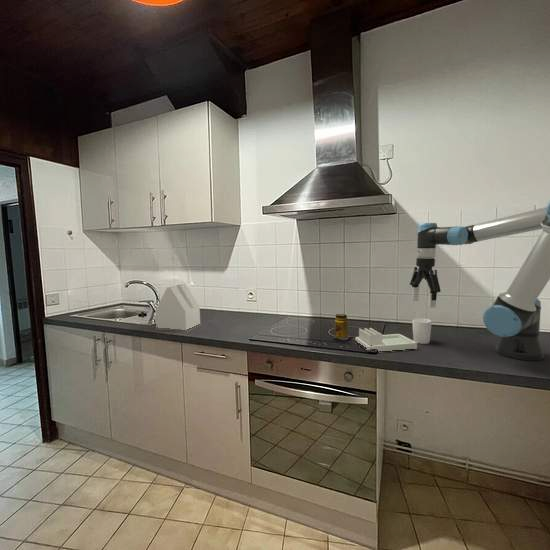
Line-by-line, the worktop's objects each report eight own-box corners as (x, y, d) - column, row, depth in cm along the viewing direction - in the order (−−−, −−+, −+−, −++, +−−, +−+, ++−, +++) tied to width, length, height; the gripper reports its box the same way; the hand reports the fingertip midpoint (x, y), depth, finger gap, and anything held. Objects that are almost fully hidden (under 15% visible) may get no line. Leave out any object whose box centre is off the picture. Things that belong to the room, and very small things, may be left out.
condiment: (331, 339, 149) (331, 315, 148) (340, 335, 156) (340, 312, 154) (345, 342, 144) (345, 317, 143) (353, 337, 151) (353, 313, 150)
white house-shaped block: (156, 330, 176) (153, 287, 173) (172, 323, 191) (170, 283, 188) (186, 332, 171) (183, 287, 168) (200, 324, 185) (198, 283, 183)
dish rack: (417, 349, 132) (417, 332, 131) (368, 353, 129) (368, 336, 128) (399, 339, 146) (399, 324, 145) (355, 343, 143) (355, 327, 142)
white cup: (433, 344, 137) (433, 322, 136) (414, 344, 139) (414, 322, 138) (428, 339, 145) (428, 318, 144) (410, 338, 147) (410, 318, 146)
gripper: (403, 256, 150) (401, 298, 153) (434, 259, 126) (431, 310, 128) (418, 255, 151) (416, 298, 154) (451, 259, 126) (448, 310, 129)
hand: (423, 304), depth 141 cm, fingers open, 13 cm apart
